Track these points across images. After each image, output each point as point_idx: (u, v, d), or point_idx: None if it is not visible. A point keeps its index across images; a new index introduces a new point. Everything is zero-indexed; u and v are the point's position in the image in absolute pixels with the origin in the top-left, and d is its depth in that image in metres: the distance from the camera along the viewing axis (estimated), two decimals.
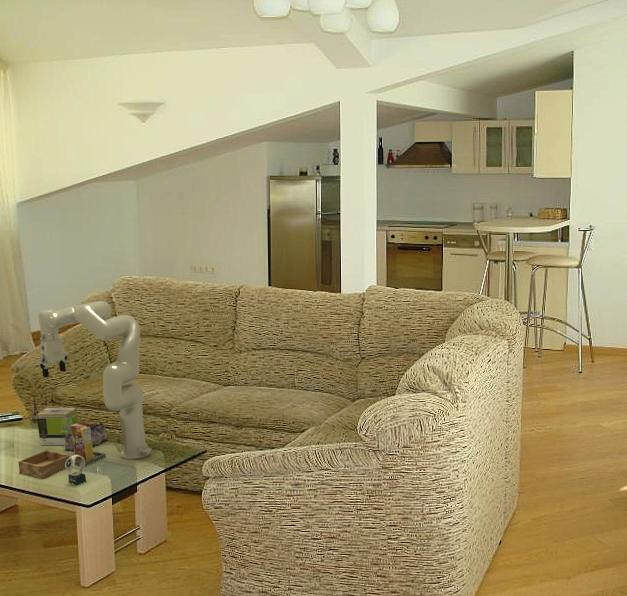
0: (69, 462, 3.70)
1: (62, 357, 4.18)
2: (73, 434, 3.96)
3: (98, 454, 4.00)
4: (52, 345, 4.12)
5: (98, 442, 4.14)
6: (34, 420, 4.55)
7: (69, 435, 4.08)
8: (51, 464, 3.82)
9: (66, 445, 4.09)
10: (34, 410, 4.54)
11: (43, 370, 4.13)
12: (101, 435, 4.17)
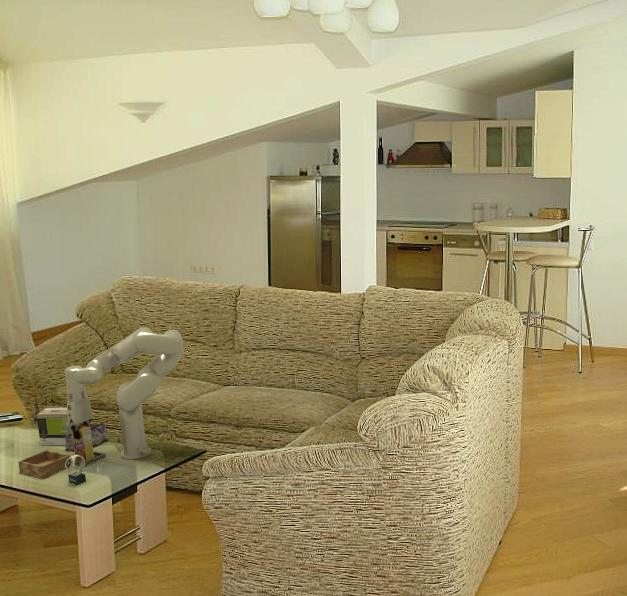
0: (69, 462, 3.70)
1: (89, 416, 3.95)
2: None
3: (98, 454, 4.00)
4: (79, 404, 3.89)
5: (99, 442, 4.14)
6: (36, 420, 4.56)
7: (70, 435, 4.08)
8: (51, 464, 3.82)
9: (67, 445, 4.09)
10: (36, 410, 4.55)
11: (74, 432, 3.92)
12: (102, 435, 4.16)
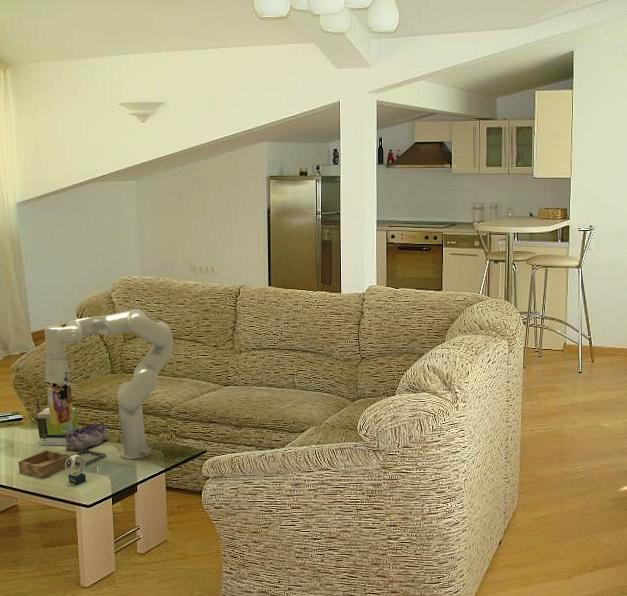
0: (69, 462, 3.70)
1: (58, 381, 3.83)
2: None
3: (98, 454, 4.00)
4: (48, 363, 3.84)
5: (99, 442, 4.14)
6: None
7: (70, 435, 4.08)
8: (51, 464, 3.82)
9: (67, 445, 4.09)
10: (37, 409, 4.55)
11: None
12: (102, 435, 4.17)
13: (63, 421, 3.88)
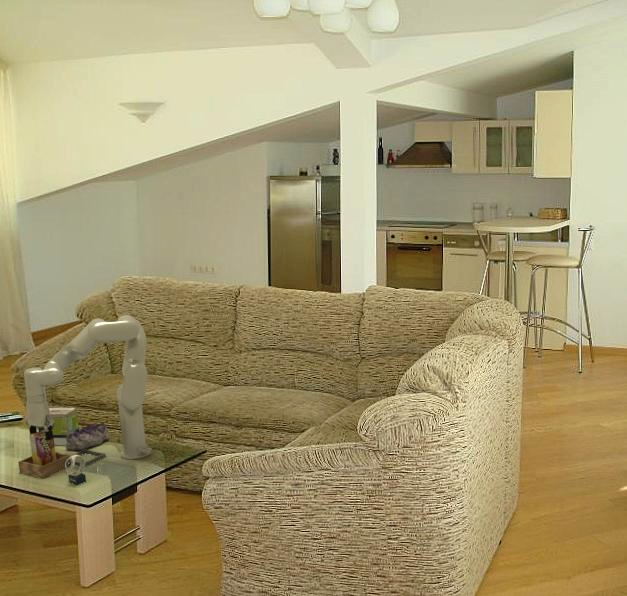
0: (69, 462, 3.70)
1: (39, 424, 3.81)
2: None
3: (98, 454, 4.00)
4: (29, 406, 3.82)
5: (99, 442, 4.14)
6: None
7: (70, 435, 4.08)
8: (51, 464, 3.82)
9: (67, 445, 4.09)
10: None
11: None
12: (102, 435, 4.17)
13: None
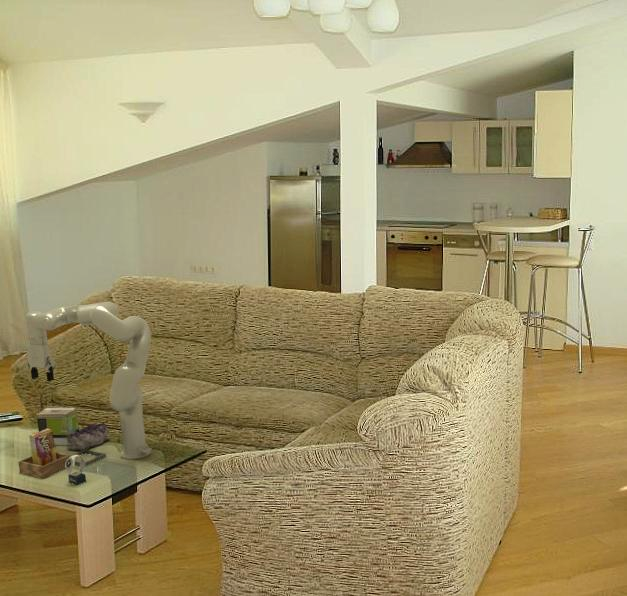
0: (69, 462, 3.70)
1: (40, 365, 3.96)
2: None
3: (98, 454, 4.00)
4: (31, 348, 3.98)
5: (100, 442, 4.14)
6: None
7: (71, 435, 4.08)
8: (51, 464, 3.82)
9: (68, 445, 4.09)
10: (41, 408, 4.57)
11: None
12: (103, 435, 4.16)
13: None
